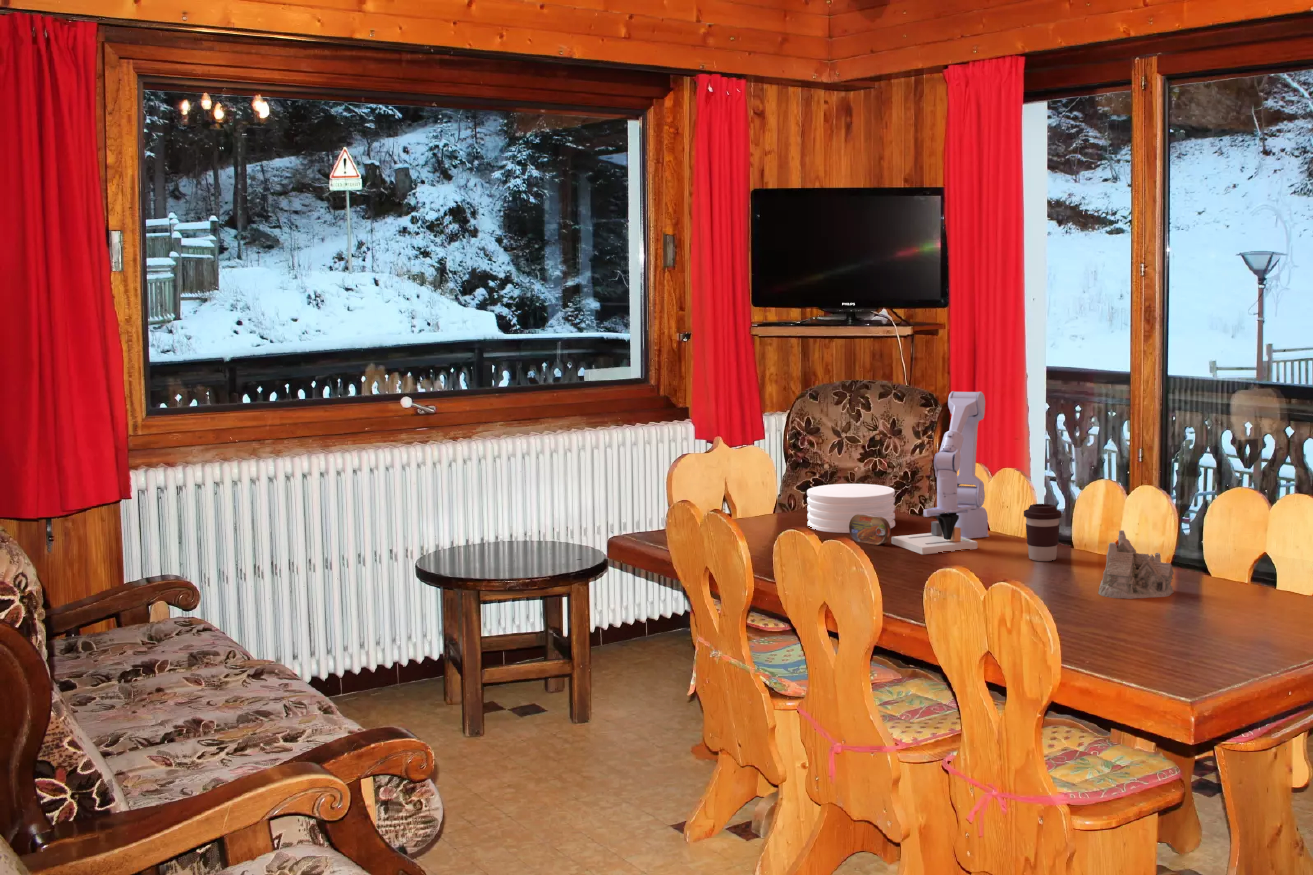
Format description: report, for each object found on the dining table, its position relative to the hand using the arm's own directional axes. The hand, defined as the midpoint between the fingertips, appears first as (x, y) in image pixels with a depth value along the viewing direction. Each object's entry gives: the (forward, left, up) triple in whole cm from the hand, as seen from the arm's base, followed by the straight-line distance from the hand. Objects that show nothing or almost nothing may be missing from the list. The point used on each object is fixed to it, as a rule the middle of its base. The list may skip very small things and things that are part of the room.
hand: (947, 539), depth 370 cm
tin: (+16, -18, -3) cm, 24 cm away
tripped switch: (-2, 0, -1) cm, 3 cm away
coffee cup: (-15, +24, -3) cm, 29 cm away
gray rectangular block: (-2, -10, -1) cm, 10 cm away
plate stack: (+7, -47, -3) cm, 48 cm away
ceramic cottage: (-12, +66, -3) cm, 67 cm away
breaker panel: (+2, -5, -3) cm, 6 cm away
